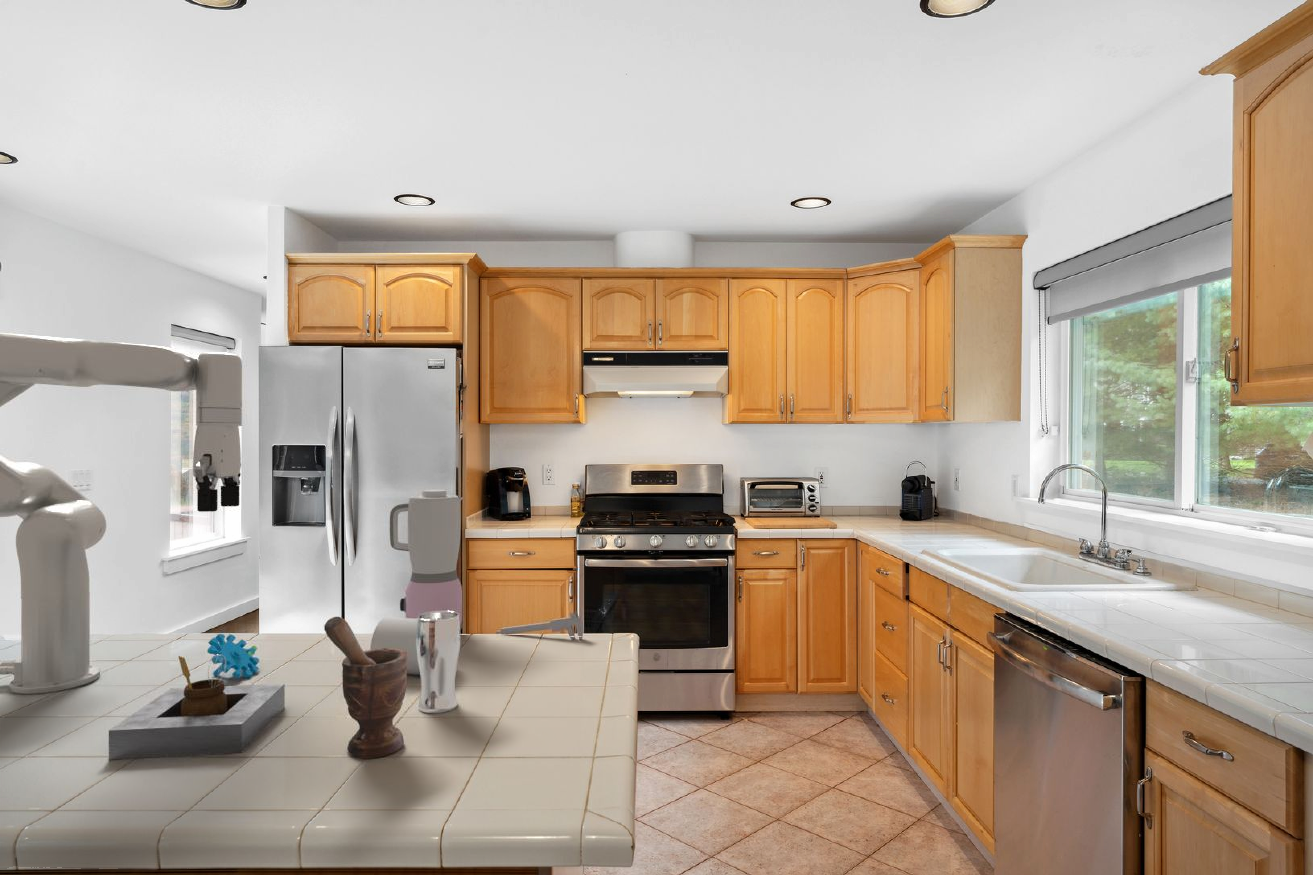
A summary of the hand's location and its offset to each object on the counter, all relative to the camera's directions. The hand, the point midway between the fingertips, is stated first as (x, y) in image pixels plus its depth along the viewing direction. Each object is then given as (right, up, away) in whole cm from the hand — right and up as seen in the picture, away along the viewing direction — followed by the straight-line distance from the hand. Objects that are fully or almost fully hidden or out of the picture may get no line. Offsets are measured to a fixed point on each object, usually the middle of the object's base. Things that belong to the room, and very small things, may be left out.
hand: (219, 508), depth 141 cm
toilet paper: (+37, -31, -2) cm, 48 cm away
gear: (+5, -31, -4) cm, 31 cm away
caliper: (+57, -31, +23) cm, 69 cm away
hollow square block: (+15, -31, -30) cm, 45 cm away
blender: (+32, -31, +25) cm, 51 cm away
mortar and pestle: (+43, -31, -37) cm, 64 cm away
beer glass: (+47, -31, -19) cm, 60 cm away
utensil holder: (+15, -31, -30) cm, 45 cm away
